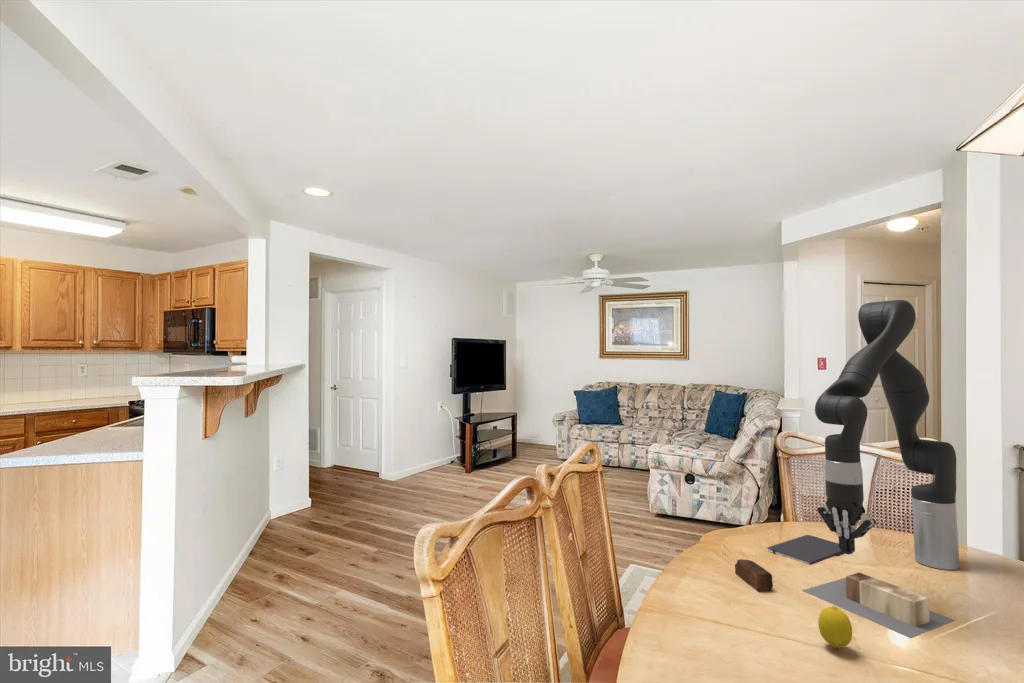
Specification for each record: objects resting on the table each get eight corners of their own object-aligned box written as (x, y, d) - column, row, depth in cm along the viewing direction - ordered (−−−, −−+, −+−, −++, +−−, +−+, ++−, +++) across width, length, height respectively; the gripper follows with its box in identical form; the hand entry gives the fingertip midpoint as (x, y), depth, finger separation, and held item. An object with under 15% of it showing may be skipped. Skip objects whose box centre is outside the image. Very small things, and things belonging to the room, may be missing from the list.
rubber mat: (844, 579, 126) (844, 577, 126) (955, 621, 105) (955, 620, 105) (802, 592, 119) (802, 590, 119) (910, 640, 98) (910, 638, 98)
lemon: (812, 641, 98) (810, 600, 99) (838, 639, 99) (837, 598, 99) (833, 657, 93) (831, 614, 93) (860, 655, 93) (858, 612, 94)
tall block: (859, 572, 117) (928, 597, 104) (860, 593, 117) (929, 621, 104) (845, 576, 115) (914, 602, 102) (846, 598, 115) (915, 627, 102)
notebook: (809, 568, 134) (851, 552, 144) (809, 562, 134) (851, 547, 144) (766, 553, 145) (807, 539, 156) (765, 547, 145) (807, 534, 156)
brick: (773, 593, 119) (772, 573, 119) (757, 594, 119) (757, 574, 119) (749, 575, 130) (748, 556, 130) (734, 575, 129) (734, 557, 130)
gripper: (883, 483, 114) (887, 560, 113) (827, 472, 126) (830, 541, 125) (862, 487, 111) (866, 566, 110) (806, 475, 123) (810, 546, 122)
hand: (847, 552), depth 117 cm, fingers closed
